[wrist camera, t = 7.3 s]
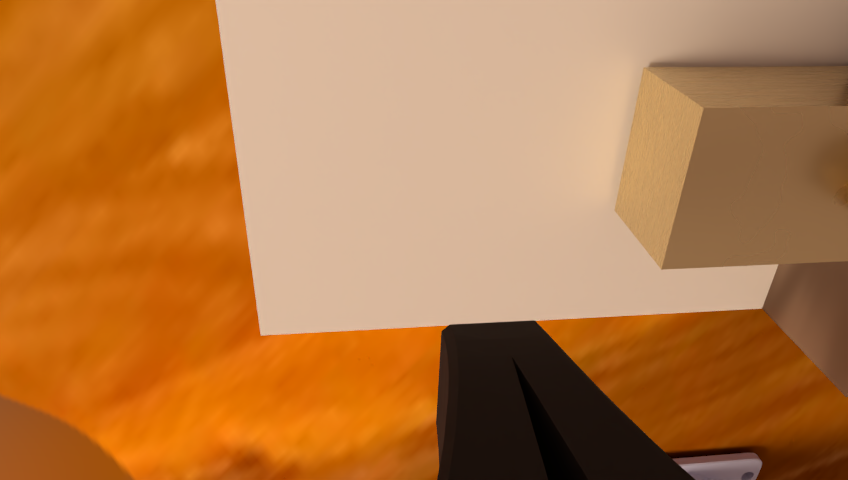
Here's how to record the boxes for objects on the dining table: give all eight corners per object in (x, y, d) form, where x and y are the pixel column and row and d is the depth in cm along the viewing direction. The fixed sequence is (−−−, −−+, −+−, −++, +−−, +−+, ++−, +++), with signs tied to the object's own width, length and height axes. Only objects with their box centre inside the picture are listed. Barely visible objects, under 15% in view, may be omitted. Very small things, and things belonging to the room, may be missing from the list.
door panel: (745, 290, 22) (762, 308, 21) (264, 314, 20) (260, 335, 19) (886, -114, 15) (918, -112, 15) (206, -134, 14) (197, -133, 13)
